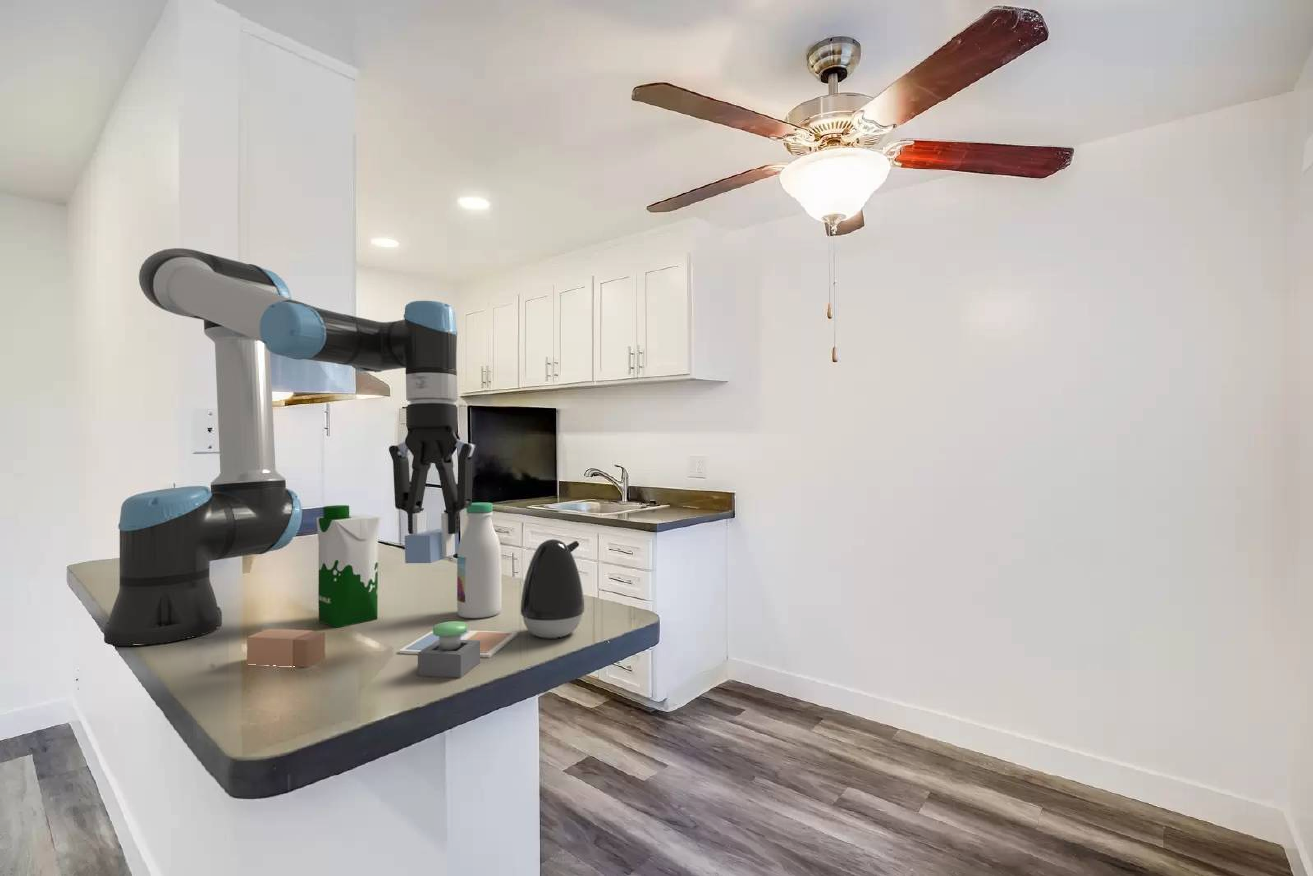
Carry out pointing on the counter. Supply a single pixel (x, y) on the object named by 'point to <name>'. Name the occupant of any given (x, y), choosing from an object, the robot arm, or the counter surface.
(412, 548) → the block
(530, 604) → the pump dispenser
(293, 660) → the block
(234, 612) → the counter surface
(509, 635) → the picture board
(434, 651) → the button housing
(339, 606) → the milk carton
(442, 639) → the button
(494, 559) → the milk bottle
